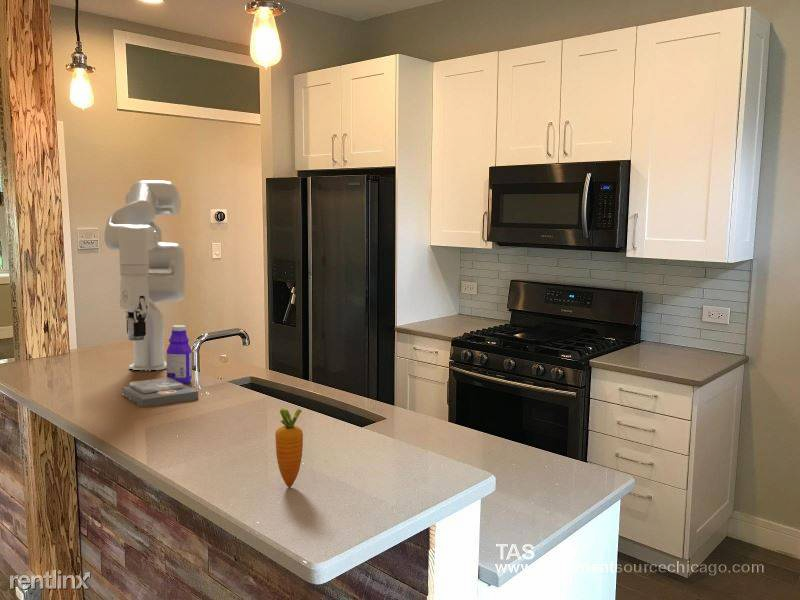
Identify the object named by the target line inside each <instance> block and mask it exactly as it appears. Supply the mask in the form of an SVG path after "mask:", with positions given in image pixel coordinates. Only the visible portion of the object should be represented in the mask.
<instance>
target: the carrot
mask: <svg viewBox="0 0 800 600" xmlns="http://www.w3.org/2000/svg"><path fill="white" fill-rule="evenodd" d="M301 412H302V409H300V408H297V410H296V411H295V413H294V415H293V417H291V414H290V411H289V410H288V409H285V408H283V407H282V408H281V409H279V413H280V415H281V418H282V419H281V420H280V422H281V424H283V426H281V427H279V428H278V429H276V431H275V452H276V461H277V464H278V469H279V472H280V475H281V478H282V480H283V482H284V483H285V485H286V486H287V487H288V488H289V487H290V488H291V487H292V486H293V485H294V483H295V481H296V480H297V477H298V475H299V473H300V468H301V463H302V459H303V446H304V445H303V443H304V433H303V430H302V429H301V428H300V427H299V426H297V425H295V424H296V421H297V420H298V418H299V416H300V415H301Z"/></svg>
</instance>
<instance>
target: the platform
mask: <svg viewBox="0 0 800 600" xmlns="http://www.w3.org/2000/svg"><path fill="white" fill-rule="evenodd" d="M129 386H131V387H133V388H134V389H136V390H138V391H140V392H141V393H143V394H144V393H151V392H158V391H161V390H172V389H179V388H183V384H181V383H179V382H177V381H175V380H173V379H171V378H169V377H167V376H166V377H160V378H159V377H158V378H153V379H152V378H151V379H145V380H138V381H129Z"/></svg>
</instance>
